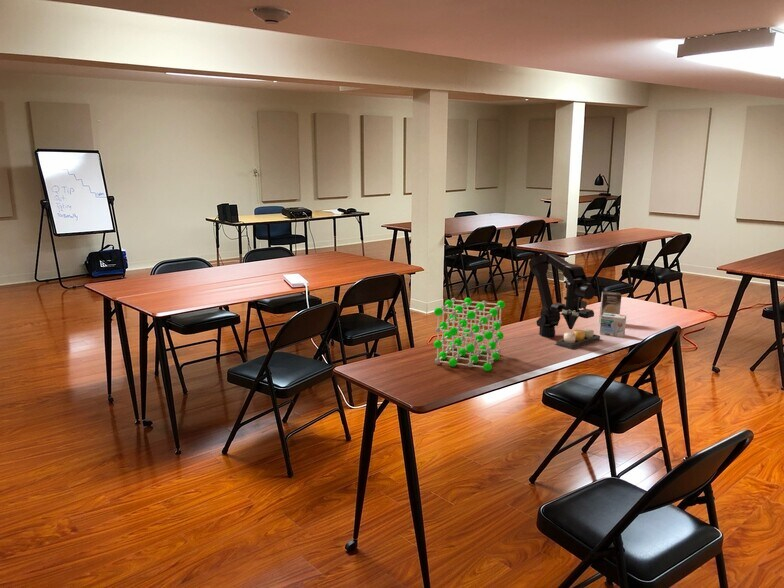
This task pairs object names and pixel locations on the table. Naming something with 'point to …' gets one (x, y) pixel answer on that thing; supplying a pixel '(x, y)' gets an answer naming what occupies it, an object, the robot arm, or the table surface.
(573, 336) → the ivory button
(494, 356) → the molecular structure model
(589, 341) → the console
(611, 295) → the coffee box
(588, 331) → the sage button
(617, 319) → the light bulb box
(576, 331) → the amber button
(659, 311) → the table surface
